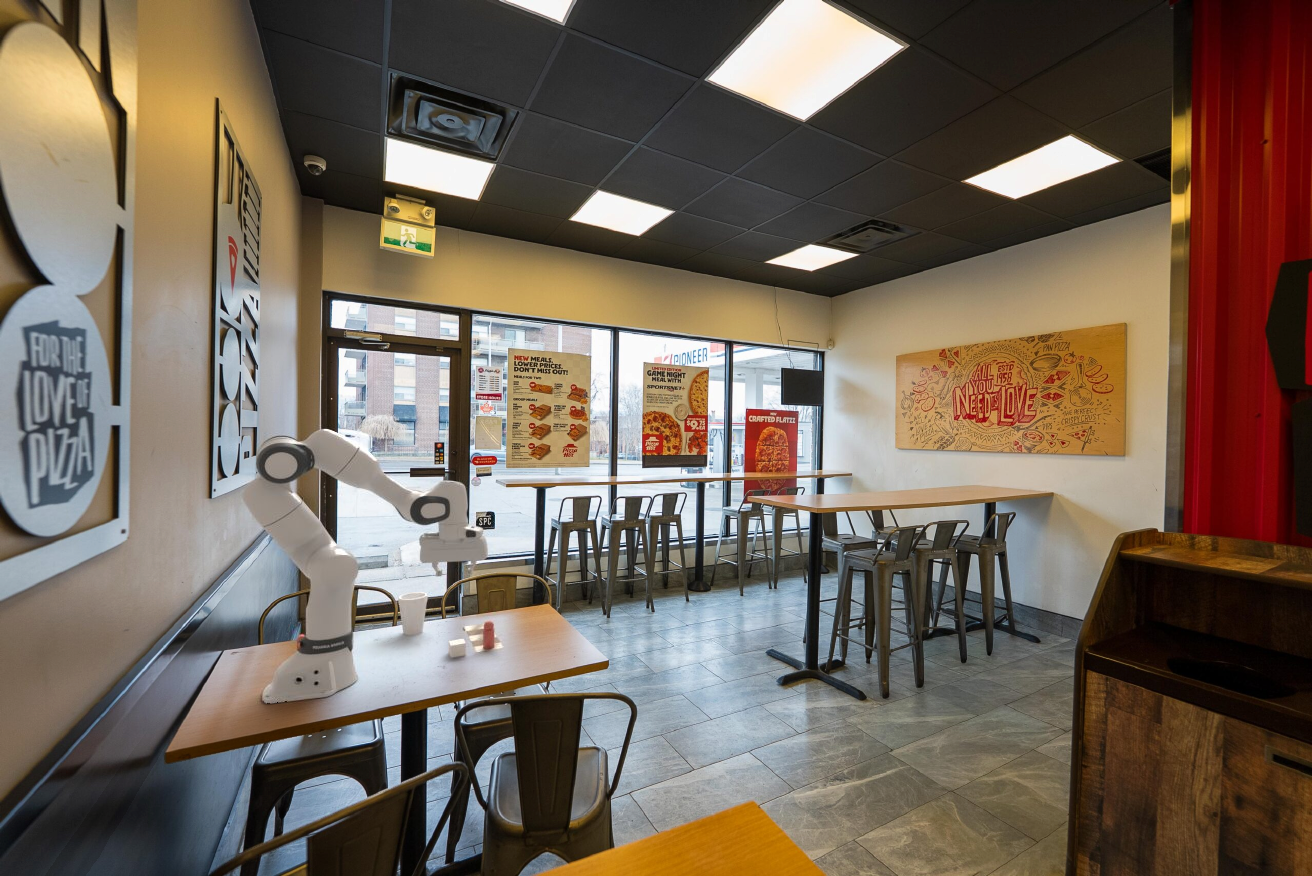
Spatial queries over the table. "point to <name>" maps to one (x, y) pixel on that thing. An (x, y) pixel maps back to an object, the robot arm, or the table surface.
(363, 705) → the table surface
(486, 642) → the red bottle
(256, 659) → the table surface
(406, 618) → the foam cup
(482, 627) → the board
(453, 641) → the white cube
